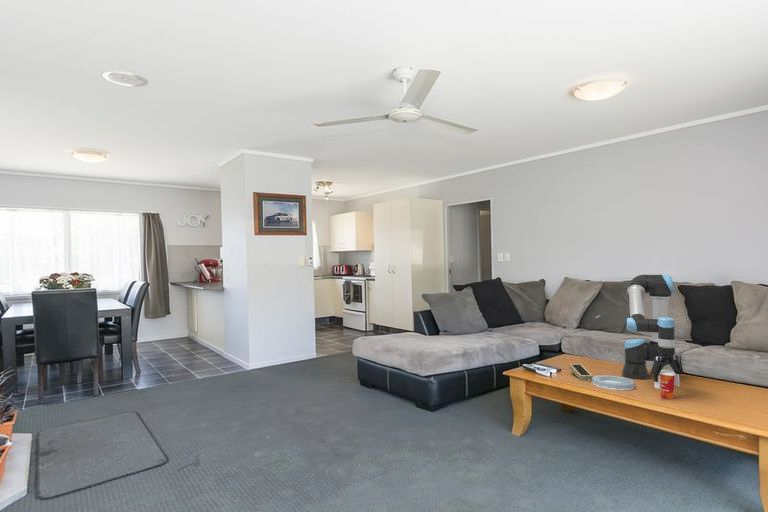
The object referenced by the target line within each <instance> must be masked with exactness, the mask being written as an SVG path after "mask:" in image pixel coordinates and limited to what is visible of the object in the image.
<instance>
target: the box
mask: <svg viewBox="0 0 768 512" xmlns="http://www.w3.org/2000/svg"><path fill="white" fill-rule="evenodd" d="M568 366H569V370H570V371H571V372H572V373H573V374H574V375H575V376H576V377H577V379H578V380H579V381H587V382H588V383H592V377H594V375H593V374H592V373H591V372H590V371H589V370H588V369H587V368H586V367H585V366H584V365H583V364H582V363H569V365H568Z"/></svg>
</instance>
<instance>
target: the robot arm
mask: <svg viewBox="0 0 768 512" xmlns="http://www.w3.org/2000/svg"><path fill="white" fill-rule="evenodd" d="M626 292H627V294H628V295H629V297H628V298H629V300H628V301H629V317H626V330H627V331H629V332H634V333H635V332H636V333H637V332H640V333H641V332H642V333H652V336H651V338H649V341H646V339H644V338H630V339H627V340H625V341H624V346H623V347H624V365H623V367H622V370H621V376H622V377H624V378H627V379H635V380H647V379H650V375H653V382H654V388H655V389H658V390H660V376H659V374H660V372H661V371H662V370H664V367H666V366H667V365H669V366H670V368H671V369H672V371H673V372H674V373H675V378H674V387H680V377H681V376H680V375H683V372H684V370H683V368H682V365H681V362H680V360H679V355H677V354H676V347H675V346H676V343H675V341H676V340H675V335H676V334H675V325H676V323H675V319H674V318H672V317H669V299H670V298H672V295H674V294H675V288H674V281H673V277H672V276H671V275H669V274H639V275H636V276H635V277H633V278H632V279H631V280H630V281H629V283H628V284H627V287H626ZM645 294H648V296H649V297H650V298H651V305H652V306H651V308H652V309H651V312H652V313H651V316H652V317H651V318H646V313H645V300H644V299H645V298H644V295H645ZM647 361H648V362H653V363H652V364H653V365H652V366H651V370H650V372H649V370H648V367H647Z"/></svg>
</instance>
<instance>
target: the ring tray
mask: <svg viewBox="0 0 768 512" xmlns="http://www.w3.org/2000/svg"><path fill="white" fill-rule="evenodd" d="M591 383H592V385H594V386H595V387H598V388H601V389H605V390H611V391H612V390H613V391H631V390H634V389H635V386H636V385H635V383H636V382H635V381H634V380H633V379H632V378H628V377H625V376H617V375H610V374H609V375H605V374H604V375H603V374H601V375H593V377H592V382H591Z"/></svg>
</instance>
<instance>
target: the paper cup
mask: <svg viewBox="0 0 768 512" xmlns="http://www.w3.org/2000/svg"><path fill="white" fill-rule="evenodd" d="M659 376H660V389H659V390H660V391H659V393H660V397H661V398H662V399H666V400H673V399H674V395H675V394H674V393H675V392H674V391H675V386H674V378H675V372H674V371H673V370H670V369H662V371H661V372H660V374H659Z"/></svg>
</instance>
